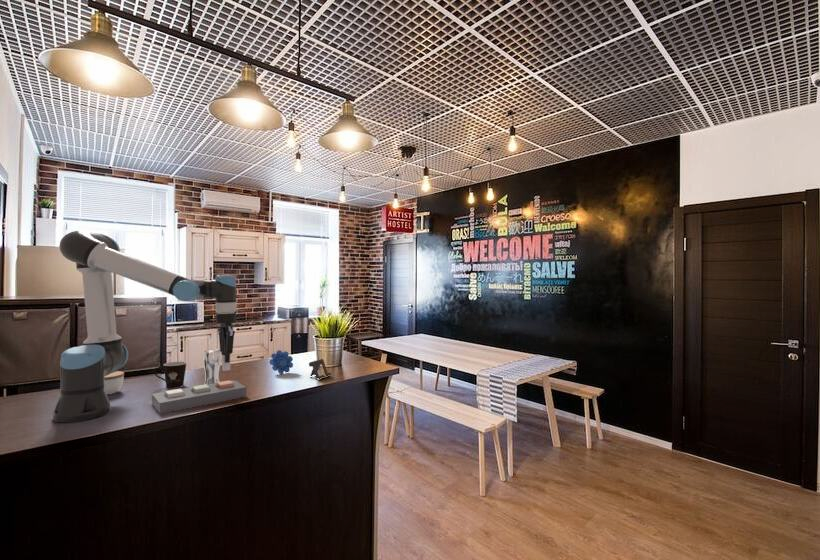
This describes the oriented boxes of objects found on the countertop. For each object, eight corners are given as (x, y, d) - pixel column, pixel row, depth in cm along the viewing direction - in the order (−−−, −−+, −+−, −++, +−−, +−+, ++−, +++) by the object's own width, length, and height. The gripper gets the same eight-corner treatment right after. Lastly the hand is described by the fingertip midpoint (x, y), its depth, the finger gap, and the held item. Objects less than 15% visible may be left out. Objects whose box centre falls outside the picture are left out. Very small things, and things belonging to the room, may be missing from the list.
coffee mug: (190, 383, 172) (190, 361, 172) (177, 389, 163) (177, 366, 163) (166, 382, 173) (166, 360, 173) (152, 388, 165) (152, 365, 165)
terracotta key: (220, 392, 152) (220, 385, 152) (216, 389, 156) (216, 382, 156) (233, 389, 156) (233, 382, 156) (229, 387, 159) (229, 380, 159)
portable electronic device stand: (319, 381, 180) (319, 363, 180) (306, 379, 184) (306, 361, 184) (331, 376, 188) (331, 360, 188) (318, 374, 192) (318, 358, 191)
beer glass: (222, 383, 173) (223, 351, 173) (206, 386, 168) (206, 353, 168) (217, 380, 178) (217, 348, 178) (200, 383, 173) (201, 350, 172)
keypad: (159, 414, 134) (159, 403, 134) (151, 404, 144) (151, 393, 144) (246, 396, 155) (246, 387, 155) (234, 389, 165) (234, 380, 165)
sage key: (195, 396, 146) (195, 389, 146) (191, 393, 150) (192, 386, 150) (209, 394, 150) (209, 387, 150) (205, 391, 153) (205, 384, 153)
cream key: (168, 401, 140) (168, 394, 140) (165, 398, 143) (165, 391, 143) (183, 398, 143) (183, 391, 143) (180, 395, 147) (180, 388, 147)
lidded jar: (130, 390, 161) (130, 368, 161) (103, 398, 151) (104, 374, 151) (111, 388, 164) (111, 366, 164) (83, 395, 153) (84, 372, 153)
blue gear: (271, 377, 186) (271, 352, 186) (268, 373, 192) (268, 350, 192) (295, 374, 192) (295, 350, 192) (291, 371, 198) (292, 348, 198)
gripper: (241, 313, 154) (241, 371, 154) (230, 311, 163) (230, 365, 163) (221, 314, 148) (221, 374, 149) (211, 312, 158) (211, 368, 158)
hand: (226, 370), depth 156 cm, fingers closed
